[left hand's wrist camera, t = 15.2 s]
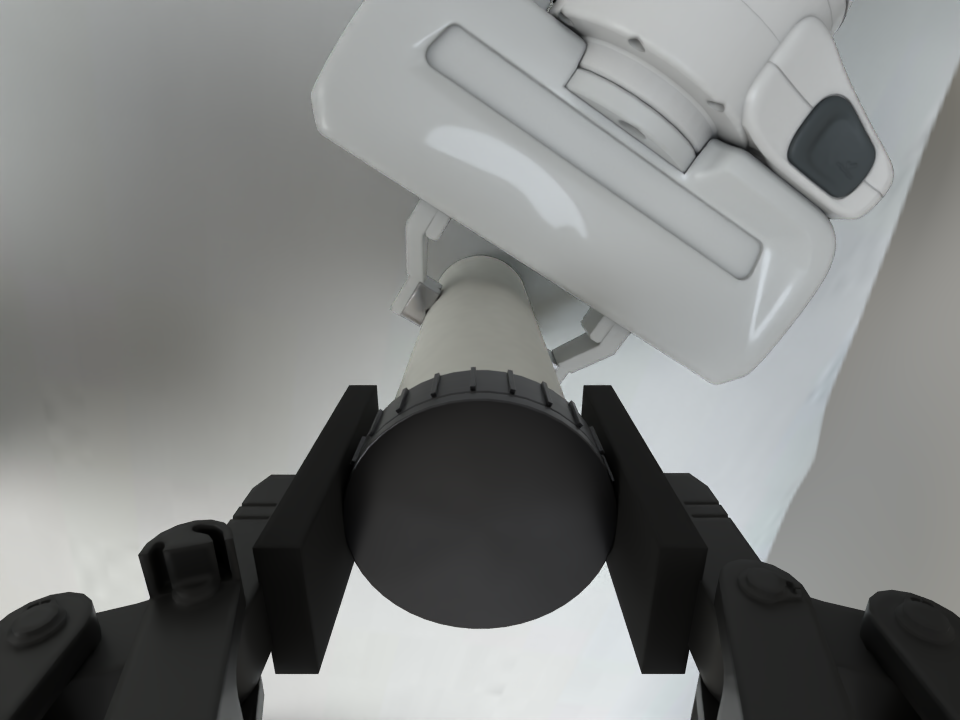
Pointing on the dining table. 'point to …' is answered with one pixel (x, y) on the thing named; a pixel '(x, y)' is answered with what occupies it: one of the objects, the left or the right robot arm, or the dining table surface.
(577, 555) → the lid
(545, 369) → the jar
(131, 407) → the dining table surface
